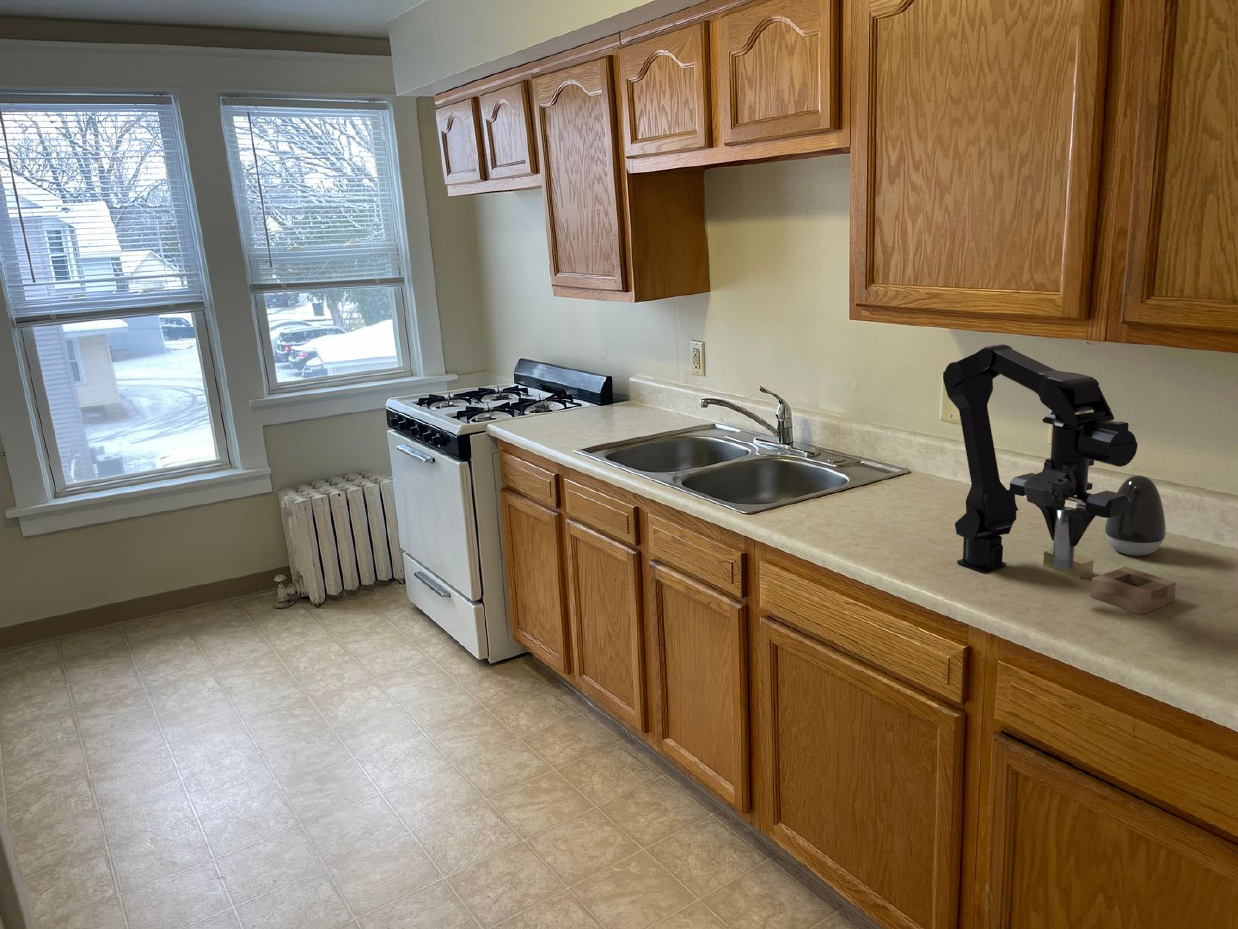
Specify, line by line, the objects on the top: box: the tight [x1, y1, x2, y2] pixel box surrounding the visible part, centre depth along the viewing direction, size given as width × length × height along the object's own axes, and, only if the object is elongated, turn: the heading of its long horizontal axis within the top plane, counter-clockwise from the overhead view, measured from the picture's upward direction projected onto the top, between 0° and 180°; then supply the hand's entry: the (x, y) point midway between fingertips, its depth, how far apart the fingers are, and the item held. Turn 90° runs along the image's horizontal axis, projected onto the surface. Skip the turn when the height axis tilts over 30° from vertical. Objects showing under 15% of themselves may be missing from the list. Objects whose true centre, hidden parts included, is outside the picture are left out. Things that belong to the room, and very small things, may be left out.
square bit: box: [1042, 548, 1094, 580], centre depth 170 cm, size 8×3×3 cm, turn 26°
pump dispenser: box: [1104, 475, 1167, 557], centre depth 175 cm, size 10×10×15 cm
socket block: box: [1090, 566, 1177, 615], centre depth 156 cm, size 9×9×4 cm
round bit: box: [1052, 506, 1076, 569], centre depth 154 cm, size 3×3×10 cm
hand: (1064, 543), depth 154 cm, fingers closed on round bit, 3 cm apart
